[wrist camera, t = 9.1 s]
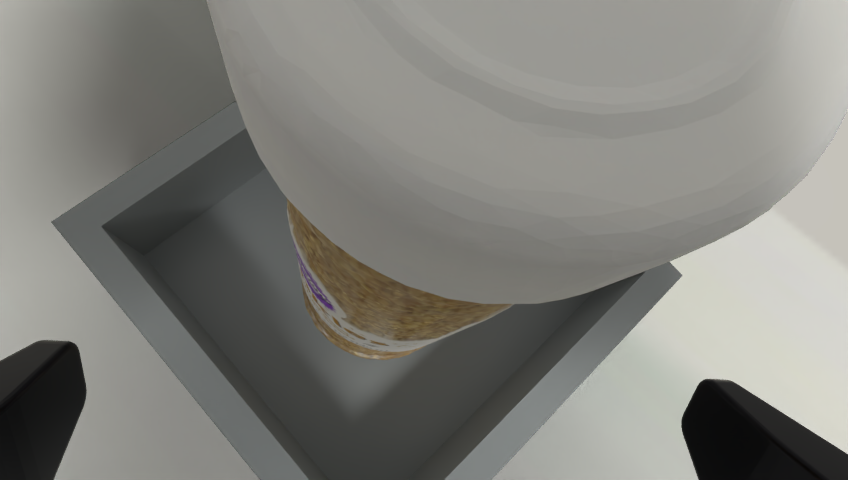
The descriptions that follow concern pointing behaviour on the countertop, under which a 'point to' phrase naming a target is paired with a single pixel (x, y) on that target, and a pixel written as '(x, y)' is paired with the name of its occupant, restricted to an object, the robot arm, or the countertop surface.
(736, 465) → the robot arm
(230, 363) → the tray
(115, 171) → the countertop surface
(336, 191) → the sprinkles bottle
